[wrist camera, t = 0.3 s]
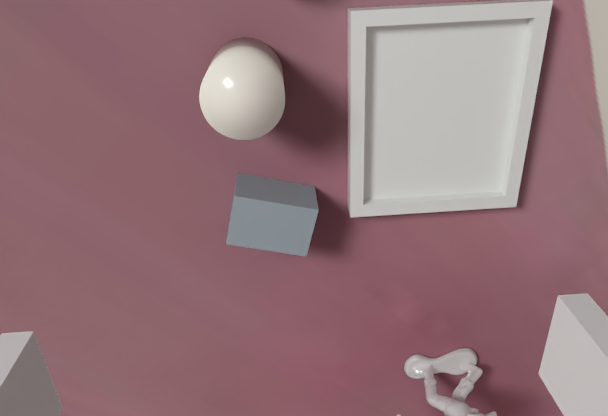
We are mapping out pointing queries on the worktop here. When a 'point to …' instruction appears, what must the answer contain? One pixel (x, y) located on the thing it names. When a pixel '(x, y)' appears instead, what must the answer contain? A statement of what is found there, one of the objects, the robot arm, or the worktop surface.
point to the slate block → (272, 215)
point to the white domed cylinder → (243, 89)
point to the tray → (441, 104)
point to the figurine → (451, 363)
